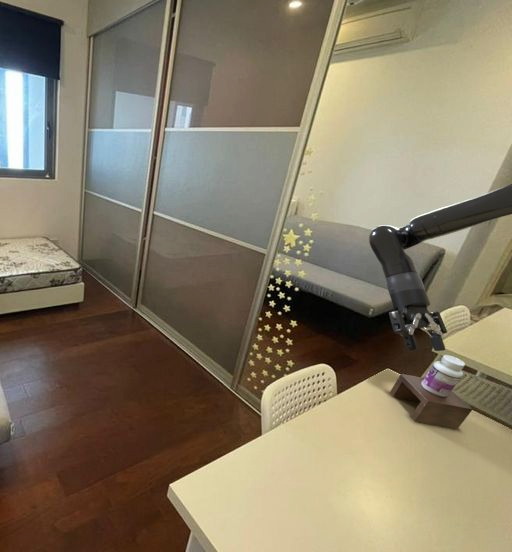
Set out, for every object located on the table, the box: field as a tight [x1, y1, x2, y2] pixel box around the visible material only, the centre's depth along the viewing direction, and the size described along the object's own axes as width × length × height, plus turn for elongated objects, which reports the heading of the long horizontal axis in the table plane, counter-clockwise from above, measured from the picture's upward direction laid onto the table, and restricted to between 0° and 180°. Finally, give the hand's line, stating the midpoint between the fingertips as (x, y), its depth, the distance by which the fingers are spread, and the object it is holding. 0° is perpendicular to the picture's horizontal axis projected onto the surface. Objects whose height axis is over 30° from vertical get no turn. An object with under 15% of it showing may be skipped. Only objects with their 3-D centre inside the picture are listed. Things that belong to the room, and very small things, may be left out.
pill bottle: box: [421, 354, 466, 397], centre depth 80 cm, size 5×5×10 cm
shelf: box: [389, 373, 474, 431], centre depth 83 cm, size 10×10×7 cm
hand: (426, 350), depth 84 cm, fingers open, 8 cm apart
